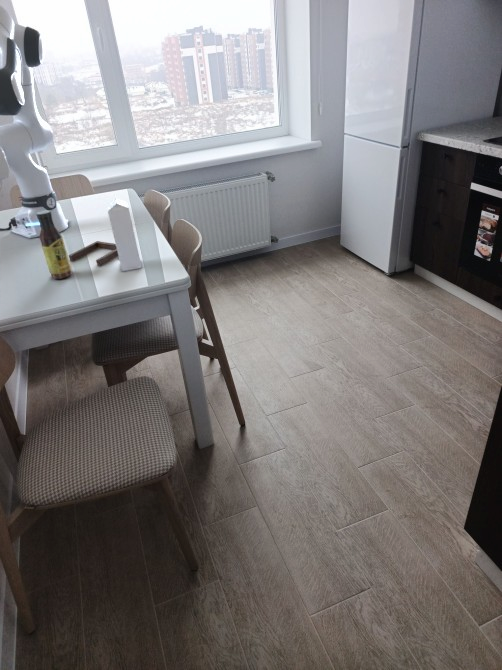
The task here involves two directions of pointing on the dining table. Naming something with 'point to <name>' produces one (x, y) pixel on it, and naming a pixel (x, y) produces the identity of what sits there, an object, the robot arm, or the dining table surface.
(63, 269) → the sauce bottle
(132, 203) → the dining table surface
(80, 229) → the dining table surface
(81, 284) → the dining table surface
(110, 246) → the bottle bay
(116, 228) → the milk
